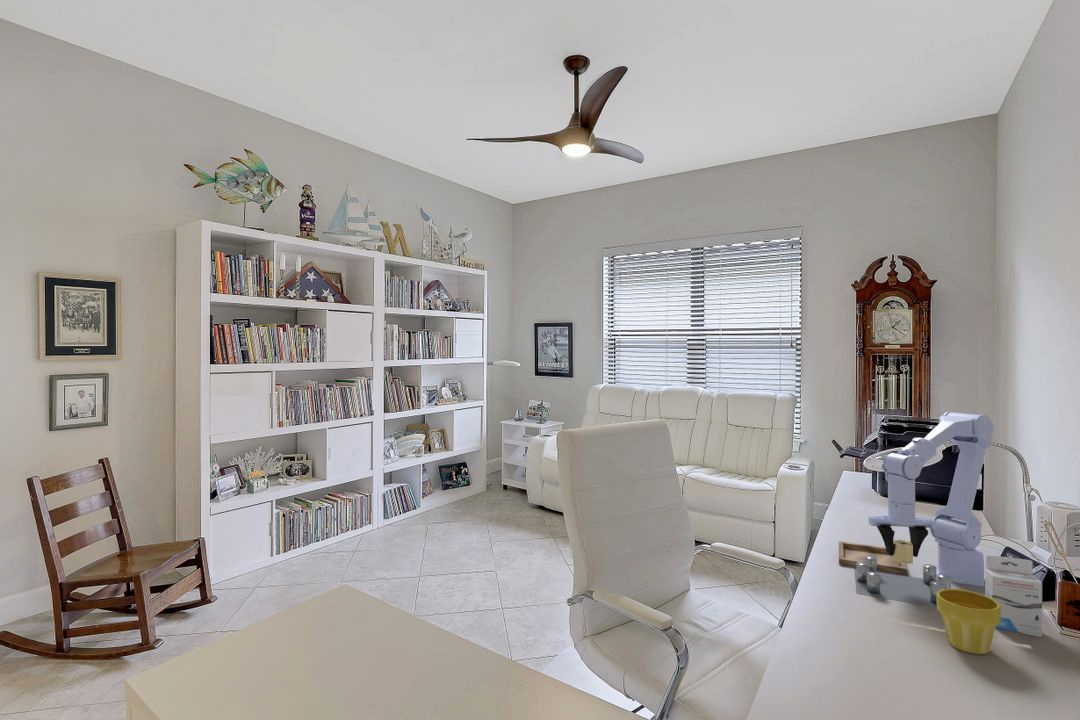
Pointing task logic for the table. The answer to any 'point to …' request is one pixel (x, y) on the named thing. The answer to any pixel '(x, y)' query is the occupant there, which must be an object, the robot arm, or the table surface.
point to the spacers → (872, 578)
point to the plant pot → (968, 619)
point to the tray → (857, 553)
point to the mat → (899, 589)
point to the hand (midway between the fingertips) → (901, 554)
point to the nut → (902, 552)
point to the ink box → (1015, 594)
